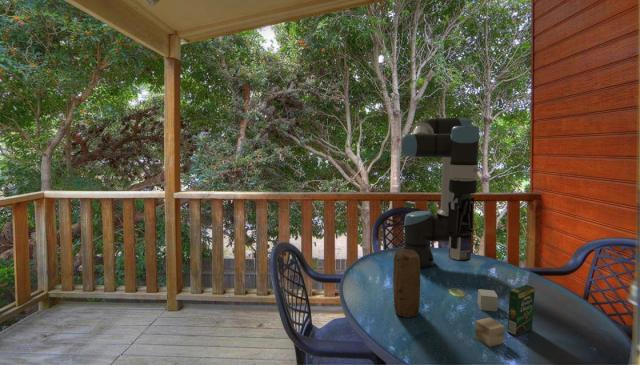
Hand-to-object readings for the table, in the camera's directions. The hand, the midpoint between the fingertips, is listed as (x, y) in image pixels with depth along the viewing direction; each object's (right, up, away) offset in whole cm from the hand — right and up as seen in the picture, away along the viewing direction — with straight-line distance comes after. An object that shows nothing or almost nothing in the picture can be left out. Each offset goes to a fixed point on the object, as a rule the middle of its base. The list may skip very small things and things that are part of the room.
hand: (459, 255), depth 103 cm
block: (-14, -20, +9) cm, 26 cm away
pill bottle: (0, -1, 0) cm, 1 cm away
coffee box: (+16, -22, -3) cm, 27 cm away
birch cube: (+5, -22, -8) cm, 24 cm away
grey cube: (+14, -20, +11) cm, 27 cm away
